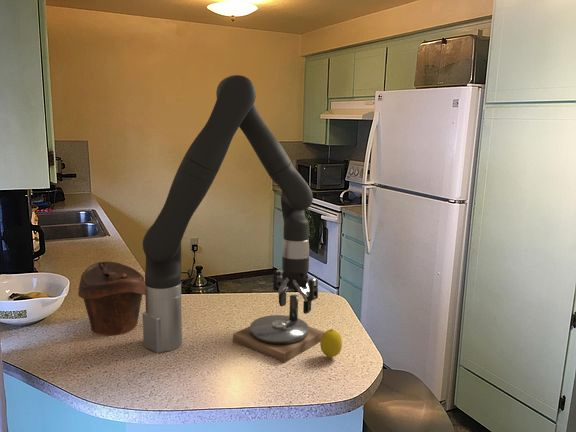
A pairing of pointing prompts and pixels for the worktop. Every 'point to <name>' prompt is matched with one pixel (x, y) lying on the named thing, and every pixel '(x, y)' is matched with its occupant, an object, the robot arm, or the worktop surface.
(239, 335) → the wheel stand
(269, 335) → the handwheel
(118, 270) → the chocolate muffin
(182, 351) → the worktop surface
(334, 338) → the lemon
